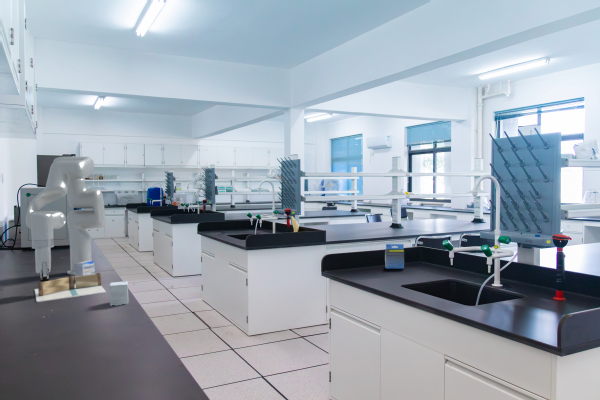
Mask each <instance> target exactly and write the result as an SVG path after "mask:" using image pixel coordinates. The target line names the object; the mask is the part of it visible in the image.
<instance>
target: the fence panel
mask: <svg viewBox="0 0 600 400" xmlns="http://www.w3.org/2000/svg"><path fill="white" fill-rule="evenodd" d="M37 287H38V288H37V289H38V293H39V296H43V295H45V294H49V293H54V292H58V291H63V290H67V289H69V276H68V277H62V278H61V277H60V278H57V279H52V280H49V281H46V282H40V281H39V282H37Z"/></svg>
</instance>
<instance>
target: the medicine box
mask: <svg viewBox="0 0 600 400" xmlns="http://www.w3.org/2000/svg"><path fill="white" fill-rule="evenodd" d="M91 260H92V259H91ZM91 260H88V261H83V262H79V263H75V264H74V269H75V275H74V277H75V276H84V275H93V274H95V272H94V269H95V261H94V260H92V261H91ZM74 283H76V279H75V278H74Z"/></svg>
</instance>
